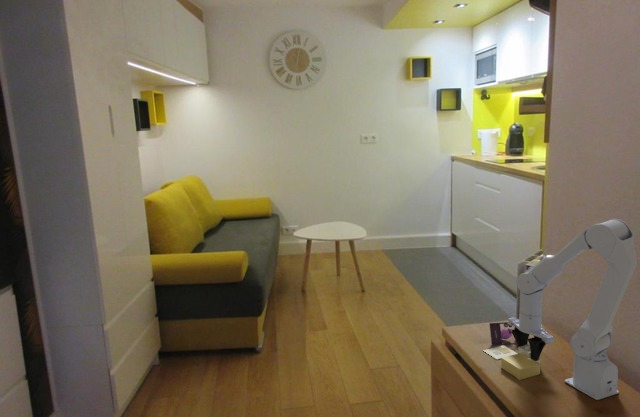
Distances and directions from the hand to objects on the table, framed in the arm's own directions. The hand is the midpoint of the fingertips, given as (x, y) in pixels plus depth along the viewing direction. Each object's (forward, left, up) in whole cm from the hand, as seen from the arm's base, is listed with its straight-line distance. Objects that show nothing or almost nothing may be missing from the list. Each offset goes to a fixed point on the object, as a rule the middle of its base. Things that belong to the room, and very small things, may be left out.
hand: (528, 356), depth 130 cm
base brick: (-3, +6, -1) cm, 7 cm away
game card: (+13, -3, -2) cm, 13 cm away
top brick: (0, 0, -1) cm, 1 cm away
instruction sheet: (+7, +3, -1) cm, 8 cm away
